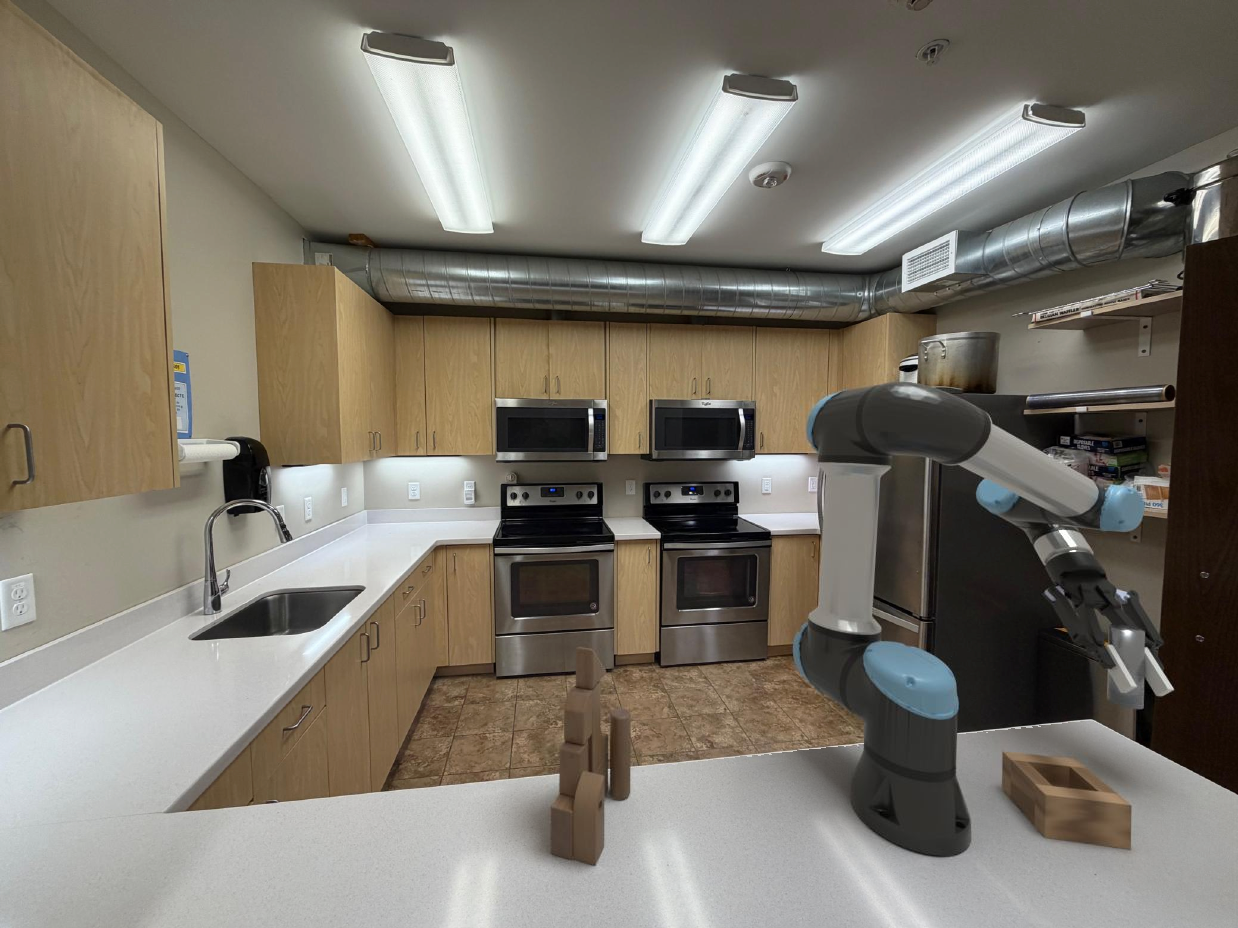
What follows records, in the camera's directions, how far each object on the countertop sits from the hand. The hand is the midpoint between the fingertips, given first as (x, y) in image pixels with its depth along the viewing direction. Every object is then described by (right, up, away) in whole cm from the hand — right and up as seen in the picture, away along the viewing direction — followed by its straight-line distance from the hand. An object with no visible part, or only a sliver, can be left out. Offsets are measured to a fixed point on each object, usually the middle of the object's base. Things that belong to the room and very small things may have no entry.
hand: (1146, 690), depth 73 cm
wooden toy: (-84, -17, -4) cm, 86 cm away
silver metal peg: (+1, -4, +4) cm, 5 cm away
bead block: (-16, -17, -3) cm, 23 cm away
